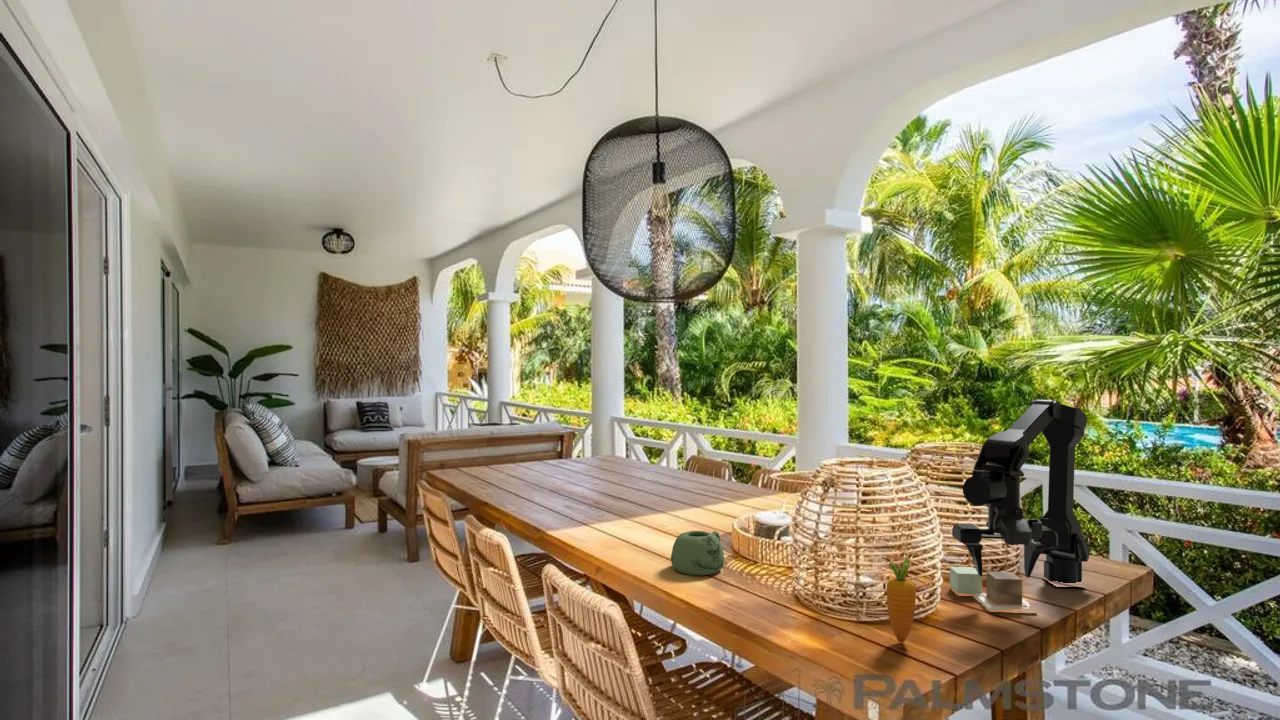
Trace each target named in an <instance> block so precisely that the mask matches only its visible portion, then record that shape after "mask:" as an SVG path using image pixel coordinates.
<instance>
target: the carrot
mask: <svg viewBox="0 0 1280 720" xmlns="http://www.w3.org/2000/svg"><path fill="white" fill-rule="evenodd" d="M910 562H911V559H910V558H908V557H905V558H904V563H903V565H902V567H901V568H900V567H898V568H897V566H896V563H895V564H894V563H893V562H890V563H889V566H890V568H891V569H892V571H893V573H894V575H895V577H892V578H890V579H889V580H888V582H886V583H887V584H886V604H887V605H886V606H887V612H888V618H889V623H890V626H891V629H892V632H893V635H894V637H895V638H896V640H897V642H898V643H900V642H901V643H902V644H904V642H905V641H906V640H907V638H908V636H909V634H910V632H911V629H912V626H913V622H914V617H915V611H916V601H917V599H916V598H917V597H916V596H917V587H916V583H915V582H914V581H912V580H911V579H909V578H906V577H907V574H908V572H909V566H910ZM901 643H900V644H901Z"/></svg>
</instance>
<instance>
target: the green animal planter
mask: <svg viewBox="0 0 1280 720" xmlns="http://www.w3.org/2000/svg"><path fill="white" fill-rule="evenodd" d="M670 560H671V566H672V568H674V569H675V570H676V571H677V572H678V573H681V574H683V575H689V576H701V577H702V576H709V575H715V574H717V573H718V572H719V571H721V570H722V569H723V568H724V562H725V554H724V549H723V545H722V543H721V537H720V533H719V532H718V531H716V530H715V531H712V532H708V531H704V530H690V531H686V532H682V533H680V534H679V535H677V537H676V538H675V540H674V542H673V545H672V550H671V555H670Z"/></svg>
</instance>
